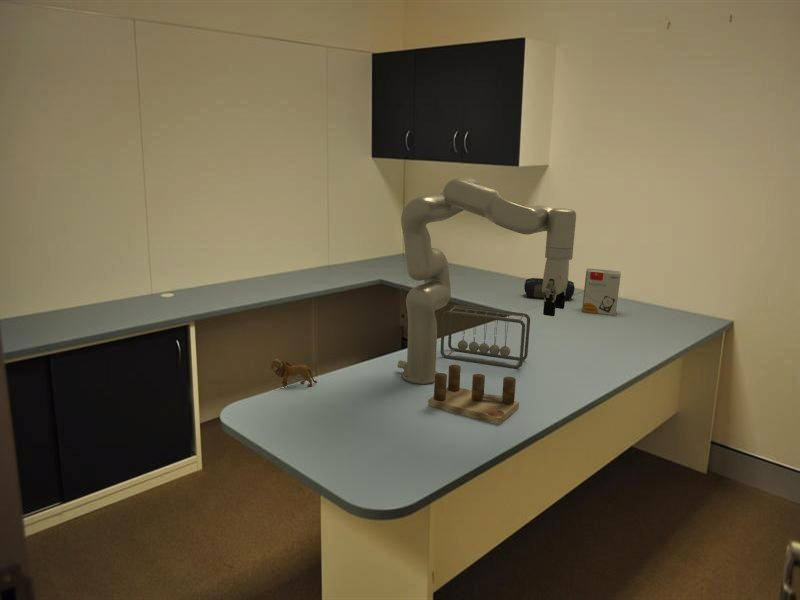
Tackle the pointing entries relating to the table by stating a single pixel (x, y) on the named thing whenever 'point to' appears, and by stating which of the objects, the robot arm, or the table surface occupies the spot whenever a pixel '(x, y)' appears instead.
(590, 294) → the hard drive box
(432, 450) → the table surface
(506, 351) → the newton's cradle
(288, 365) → the lion figurine
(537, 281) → the portable speaker
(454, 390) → the stool seat
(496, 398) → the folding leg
